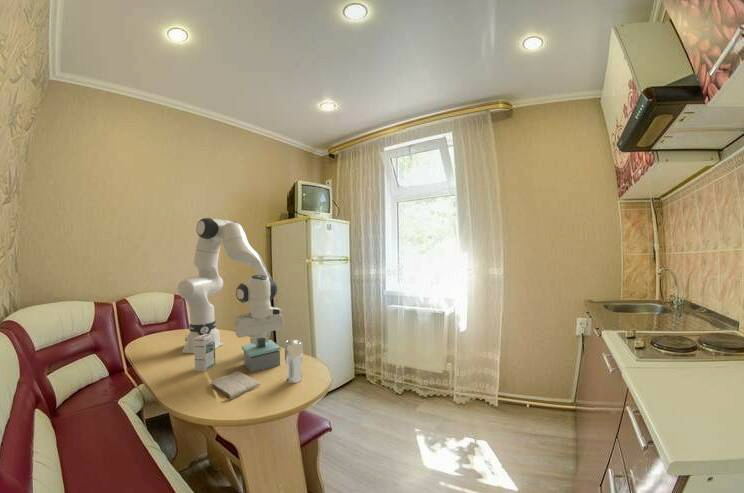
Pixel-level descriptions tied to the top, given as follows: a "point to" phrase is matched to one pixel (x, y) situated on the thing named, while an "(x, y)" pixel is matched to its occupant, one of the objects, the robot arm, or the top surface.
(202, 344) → the syrup box
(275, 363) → the box
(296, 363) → the beer glass
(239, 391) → the washcloth
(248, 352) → the lid
